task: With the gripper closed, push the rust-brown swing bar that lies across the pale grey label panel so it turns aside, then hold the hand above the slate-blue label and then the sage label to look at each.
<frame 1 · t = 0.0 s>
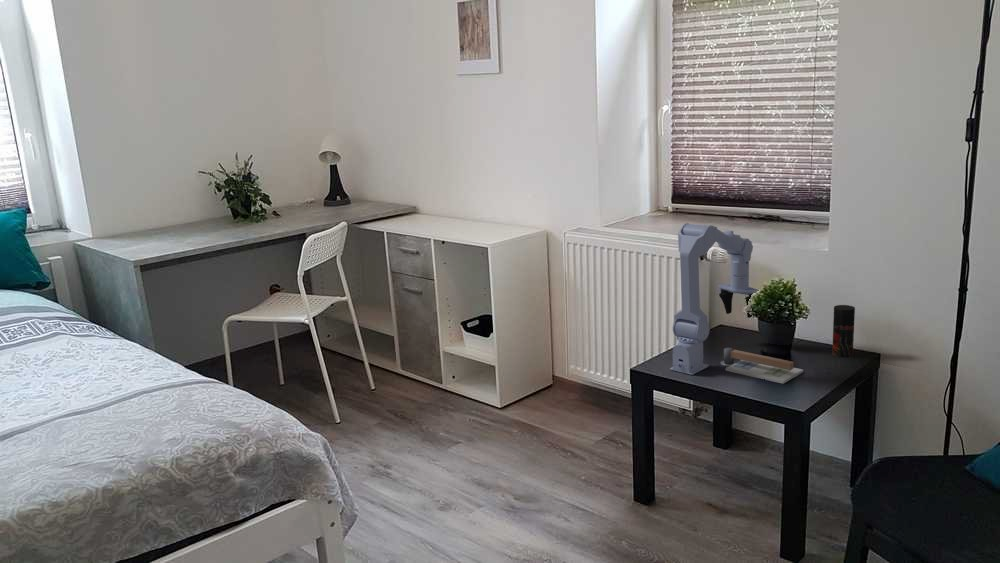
hand: (739, 315, 267), 10 cm above the table, tool pointing down, fingers open, 7 cm apart
swing bar: (757, 361, 245), point 3 cm above the table, hinge at 0.0°
label panel: (763, 371, 244), on the table
deodorant: (842, 354, 254), on the table
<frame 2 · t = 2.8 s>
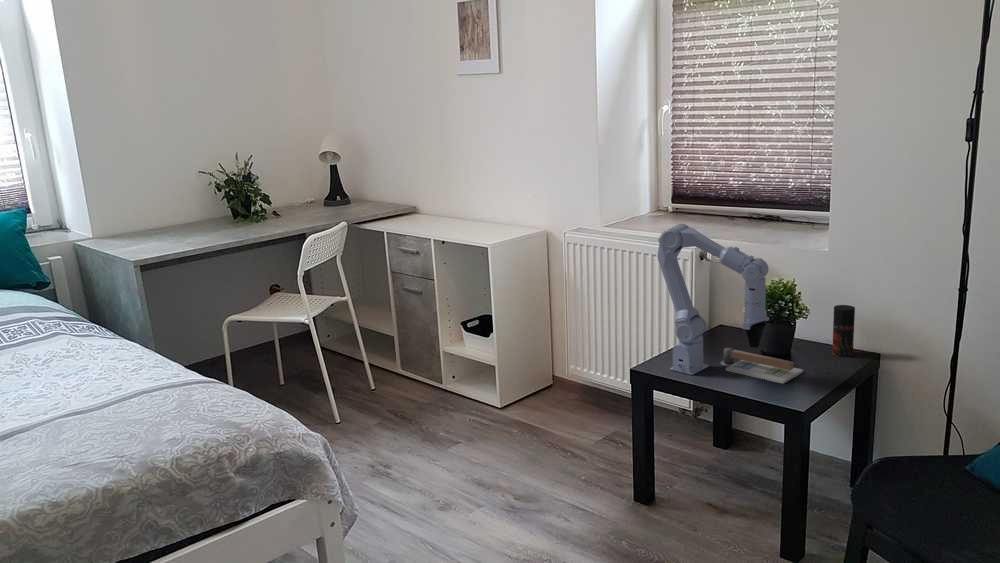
hand: (754, 346, 237), 9 cm above the table, tool pointing down, fingers closed
nothing on the table moved.
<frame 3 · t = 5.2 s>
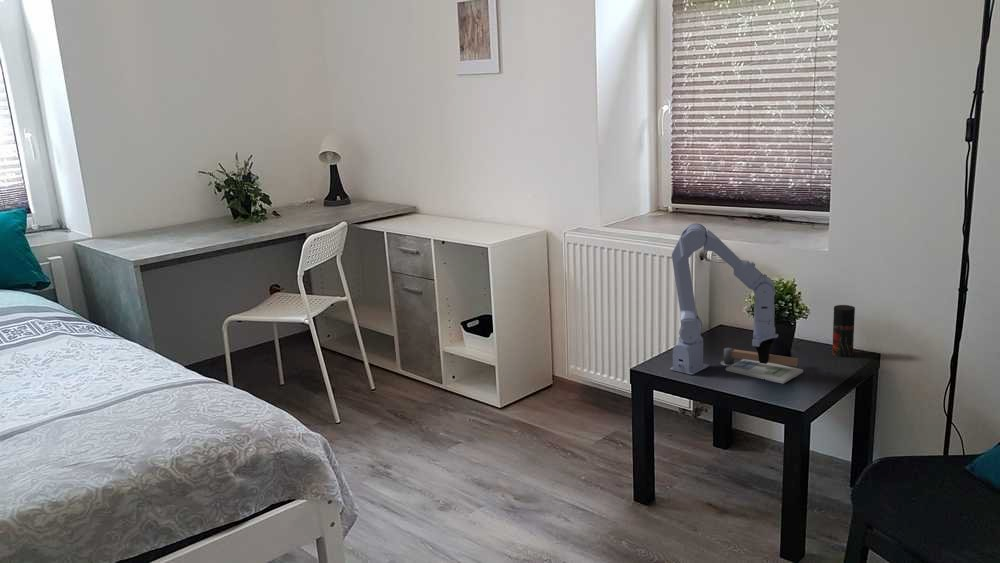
hand: (763, 362, 244), 2 cm above the table, tool pointing down, fingers closed, pressing on swing bar
swing bar: (759, 360, 246), point 3 cm above the table, hinge at 10.6°, touching gripper
everything else where it was.
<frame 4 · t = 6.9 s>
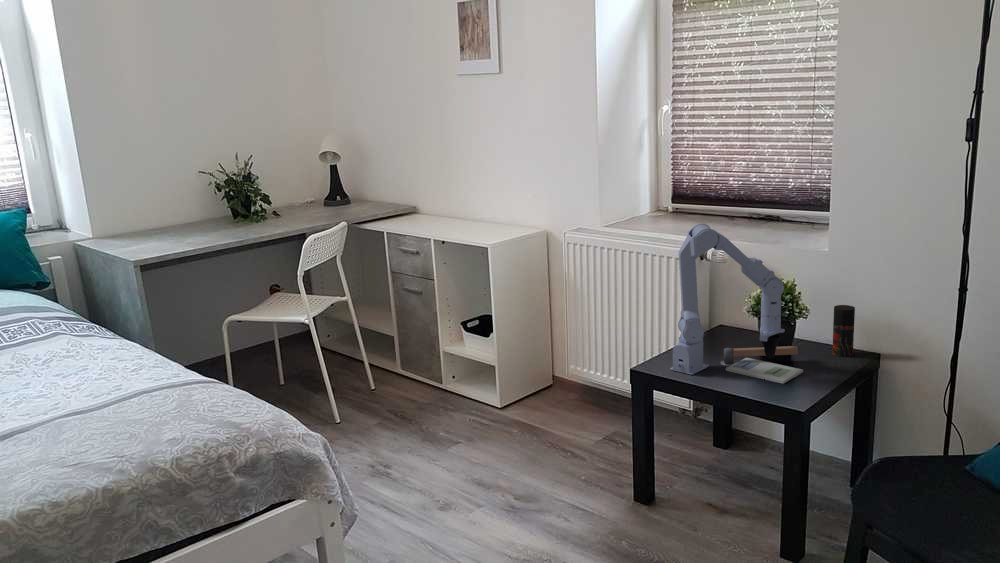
hand: (770, 357, 248), 2 cm above the table, tool pointing down, fingers closed
swing bar: (760, 354, 251), point 3 cm above the table, hinge at 42.9°, touching gripper
everything else where it was.
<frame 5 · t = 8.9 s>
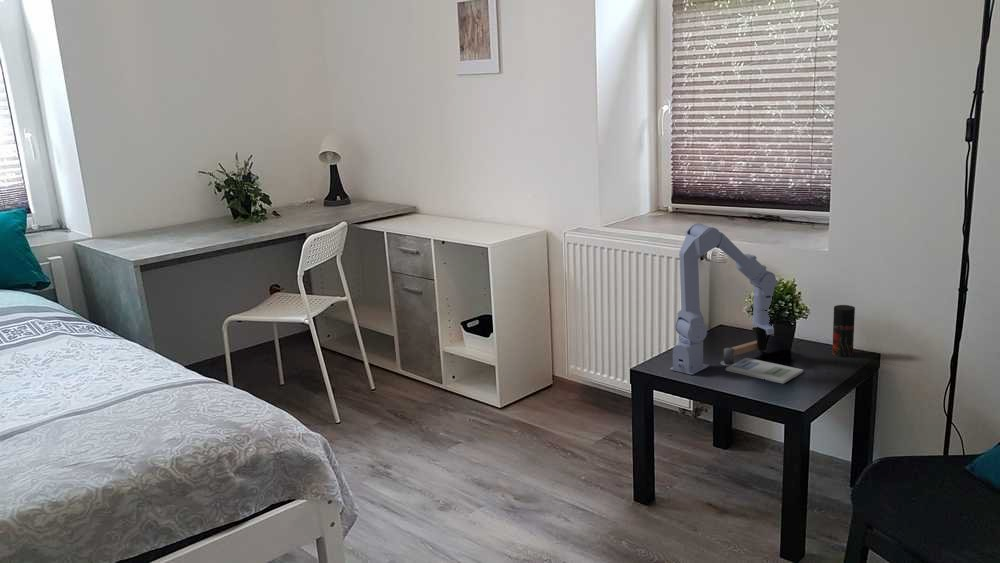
hand: (762, 350, 255), 2 cm above the table, tool pointing down, fingers closed
swing bar: (751, 349, 256), point 3 cm above the table, hinge at 76.1°, touching gripper
everything else where it was.
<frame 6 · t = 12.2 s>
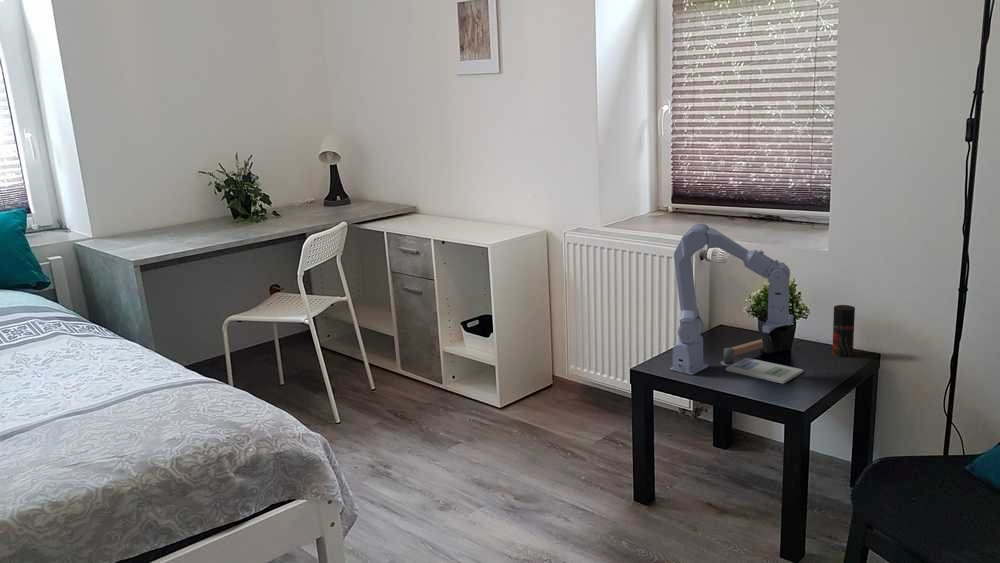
hand: (777, 350, 239), 7 cm above the table, tool pointing down, fingers closed
swing bar: (751, 349, 256), point 3 cm above the table, hinge at 76.1°
everything else where it was.
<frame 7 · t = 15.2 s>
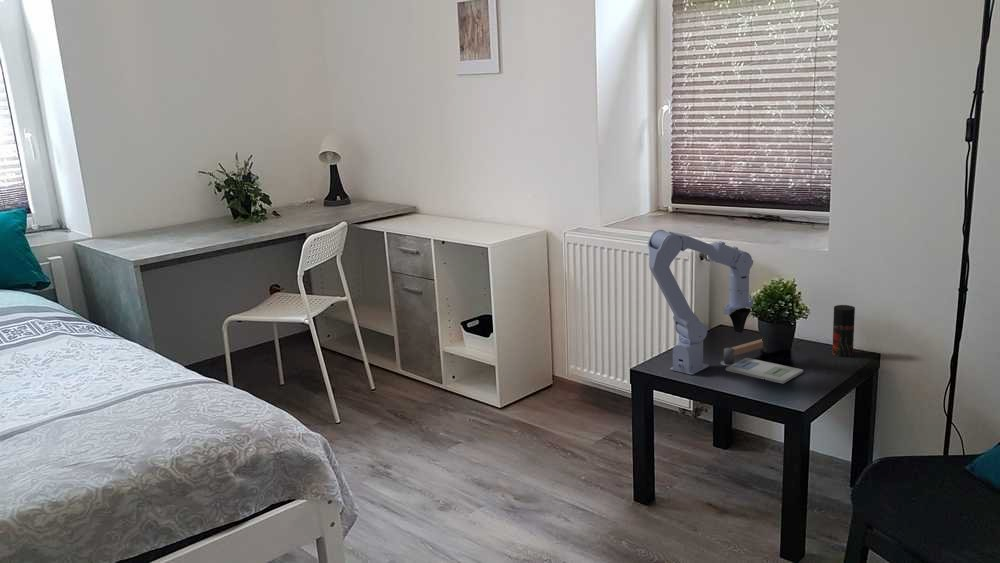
hand: (738, 331, 252), 9 cm above the table, tool pointing down, fingers closed
nothing on the table moved.
at the end: swing bar at +76° (first picture: +0°); deodorant tilted 0°; deodorant moved 0.2 cm from its start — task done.
